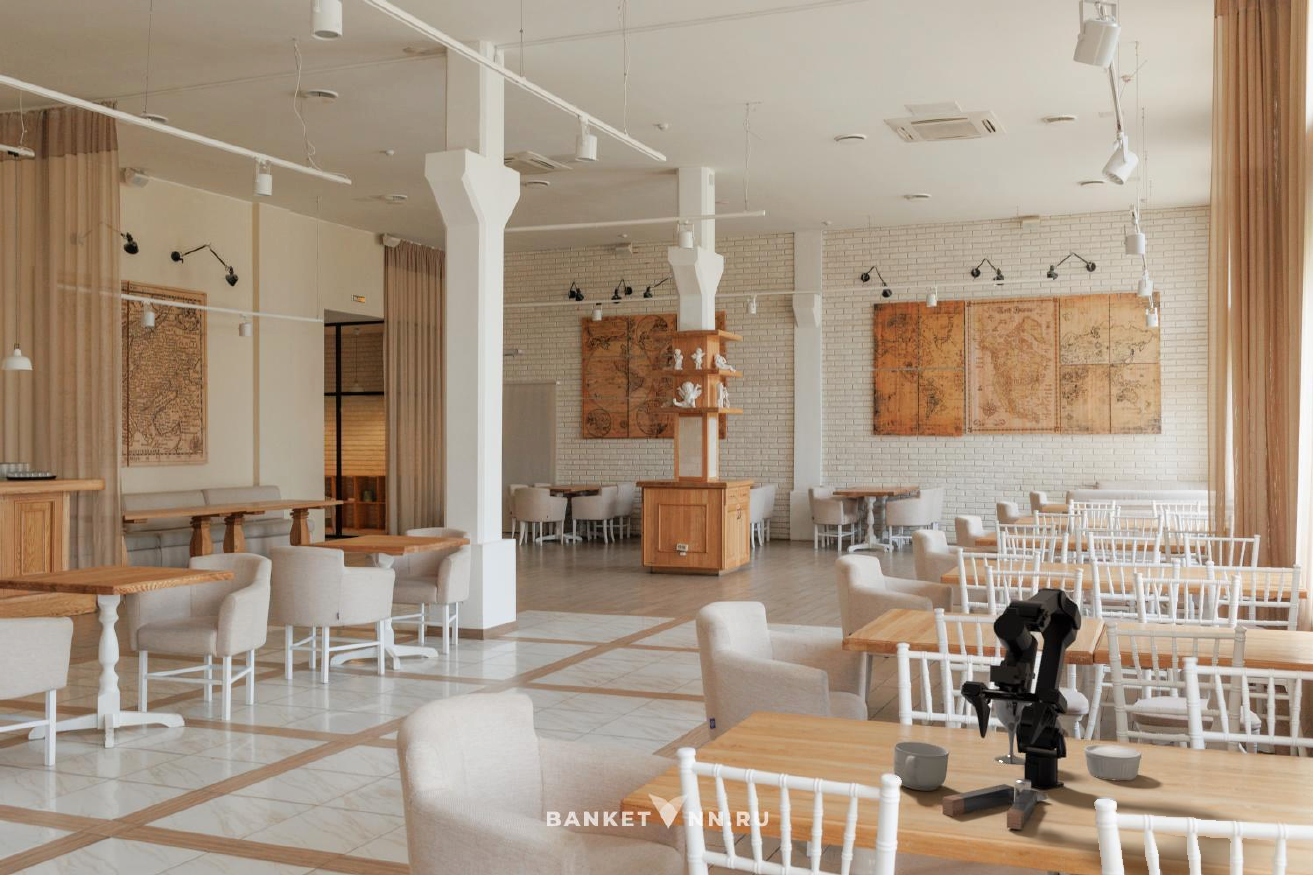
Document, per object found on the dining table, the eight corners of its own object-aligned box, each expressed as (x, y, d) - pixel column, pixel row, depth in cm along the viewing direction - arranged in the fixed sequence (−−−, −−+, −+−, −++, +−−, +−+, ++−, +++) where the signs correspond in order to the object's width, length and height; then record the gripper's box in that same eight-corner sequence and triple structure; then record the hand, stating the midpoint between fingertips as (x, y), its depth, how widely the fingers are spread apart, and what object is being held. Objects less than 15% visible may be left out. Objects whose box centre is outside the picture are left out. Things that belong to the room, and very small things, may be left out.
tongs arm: (1023, 802, 220) (1023, 788, 220) (1036, 804, 219) (1036, 790, 219) (1006, 827, 205) (1006, 812, 205) (1020, 829, 204) (1020, 814, 204)
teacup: (908, 776, 239) (909, 737, 239) (957, 786, 232) (958, 746, 232) (876, 790, 228) (876, 750, 229) (926, 801, 222) (926, 759, 222)
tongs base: (1024, 794, 227) (1024, 774, 227) (1047, 801, 222) (1047, 780, 222) (942, 813, 214) (942, 791, 214) (964, 821, 210) (964, 798, 210)
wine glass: (1038, 762, 251) (1038, 693, 251) (1008, 766, 248) (1008, 696, 248) (1014, 753, 258) (1014, 687, 258) (985, 757, 255) (985, 689, 256)
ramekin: (1089, 765, 250) (1089, 741, 250) (1144, 773, 244) (1145, 748, 244) (1079, 777, 240) (1079, 752, 240) (1136, 785, 234) (1136, 759, 234)
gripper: (958, 641, 221) (943, 718, 214) (1055, 648, 210) (1043, 729, 203) (977, 665, 229) (963, 740, 222) (1073, 672, 217) (1061, 752, 210)
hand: (1006, 740), depth 214 cm, fingers open, 9 cm apart
